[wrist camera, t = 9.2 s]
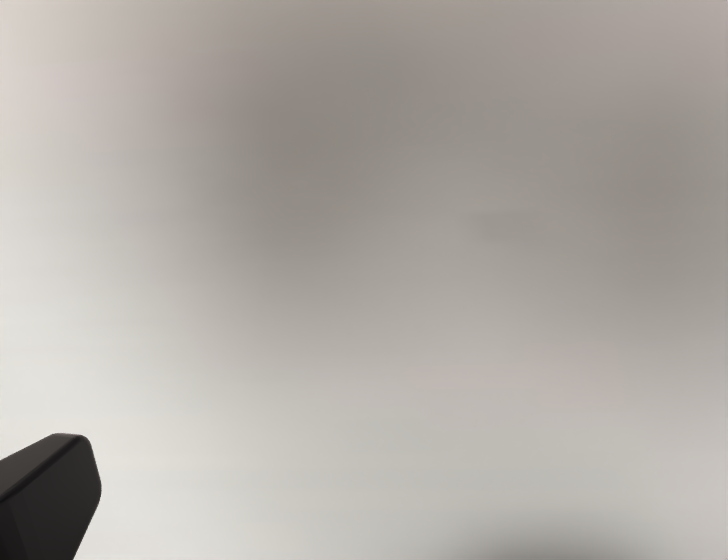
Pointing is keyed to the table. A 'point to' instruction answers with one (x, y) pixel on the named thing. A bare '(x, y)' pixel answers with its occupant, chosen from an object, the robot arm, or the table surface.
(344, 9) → the table surface
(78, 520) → the robot arm
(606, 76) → the table surface
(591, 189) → the table surface
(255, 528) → the table surface
